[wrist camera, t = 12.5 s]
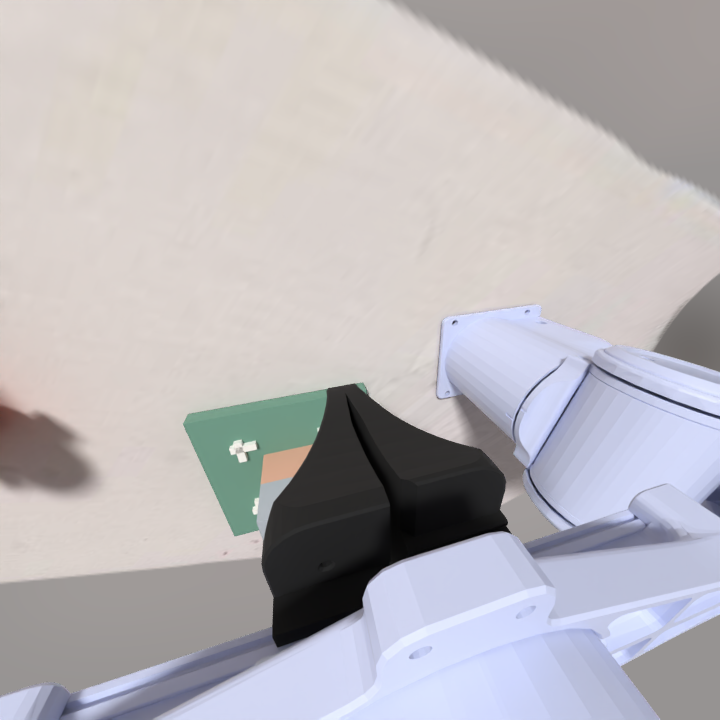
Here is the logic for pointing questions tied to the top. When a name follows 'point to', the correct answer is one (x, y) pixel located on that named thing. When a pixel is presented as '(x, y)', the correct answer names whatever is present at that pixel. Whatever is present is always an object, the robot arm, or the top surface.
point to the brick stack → (277, 479)
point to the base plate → (251, 446)
